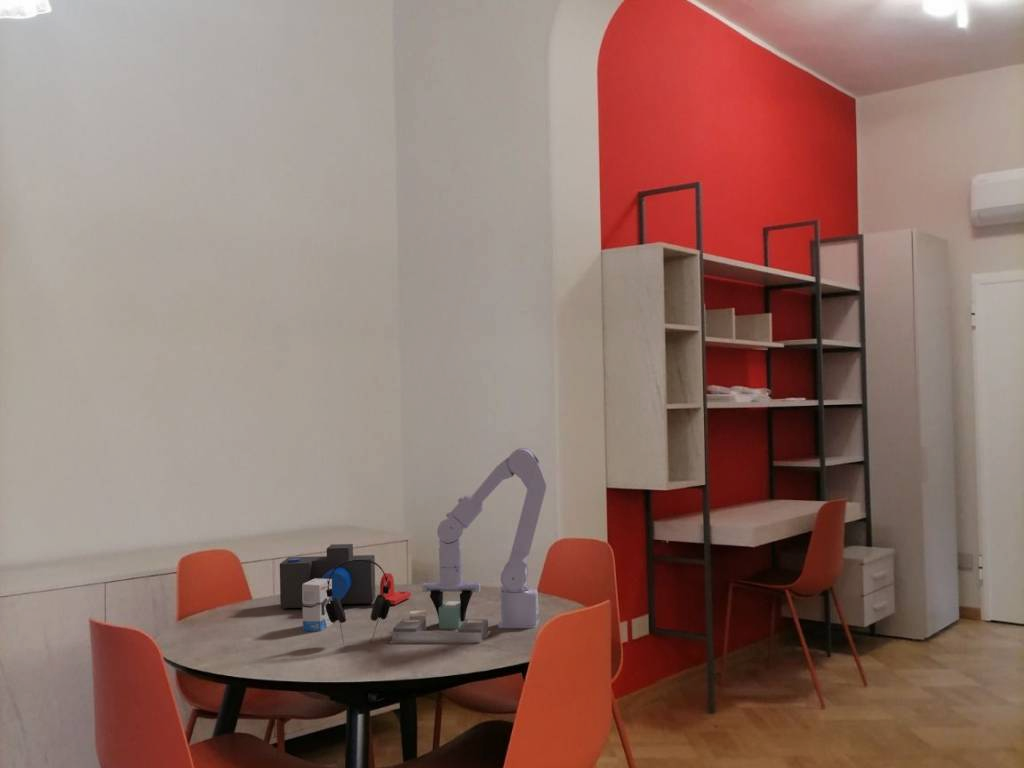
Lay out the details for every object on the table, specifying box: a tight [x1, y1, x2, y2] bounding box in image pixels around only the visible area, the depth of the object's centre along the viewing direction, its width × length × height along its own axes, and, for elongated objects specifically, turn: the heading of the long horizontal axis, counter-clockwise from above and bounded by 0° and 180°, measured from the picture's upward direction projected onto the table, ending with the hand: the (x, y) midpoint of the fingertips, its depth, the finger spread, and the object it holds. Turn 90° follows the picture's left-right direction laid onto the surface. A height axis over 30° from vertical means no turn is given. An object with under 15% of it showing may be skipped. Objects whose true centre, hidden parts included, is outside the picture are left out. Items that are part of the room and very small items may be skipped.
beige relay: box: [409, 609, 428, 630], centre depth 234 cm, size 4×6×4 cm, turn 4°
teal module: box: [438, 600, 465, 630], centre depth 236 cm, size 5×8×6 cm, turn 172°
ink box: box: [302, 579, 334, 632], centre depth 238 cm, size 8×5×12 cm, turn 168°
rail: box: [391, 630, 483, 644], centre depth 218 cm, size 21×1×2 cm, turn 82°
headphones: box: [325, 559, 391, 643], centre depth 222 cm, size 15×11×20 cm
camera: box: [279, 543, 376, 609], centre depth 265 cm, size 25×16×16 cm, turn 90°
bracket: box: [379, 572, 412, 605], centre depth 270 cm, size 12×4×8 cm, turn 163°
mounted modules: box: [392, 618, 489, 642], centre depth 223 cm, size 21×10×3 cm, turn 82°
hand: (452, 620), depth 236 cm, fingers closed on teal module, 5 cm apart
